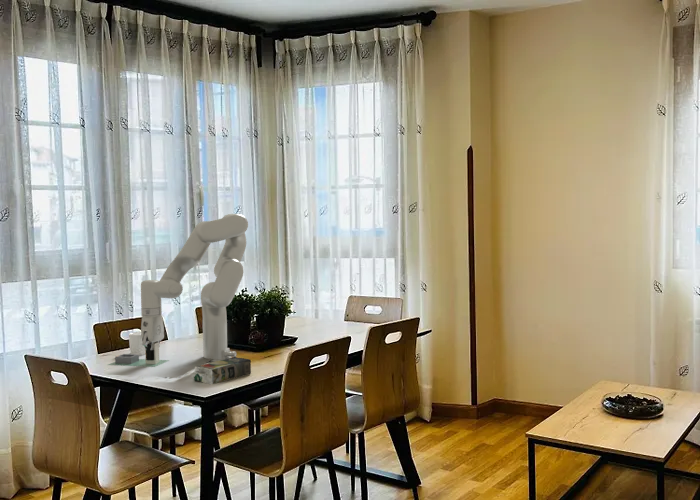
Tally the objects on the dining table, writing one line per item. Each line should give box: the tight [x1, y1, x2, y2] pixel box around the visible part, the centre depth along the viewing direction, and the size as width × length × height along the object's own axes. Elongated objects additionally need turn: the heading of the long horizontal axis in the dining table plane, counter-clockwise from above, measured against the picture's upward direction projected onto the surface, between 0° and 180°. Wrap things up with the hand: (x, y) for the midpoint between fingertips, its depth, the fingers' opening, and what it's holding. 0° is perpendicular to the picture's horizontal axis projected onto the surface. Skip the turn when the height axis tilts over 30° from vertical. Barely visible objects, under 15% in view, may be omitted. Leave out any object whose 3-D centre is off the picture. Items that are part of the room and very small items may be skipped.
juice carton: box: [193, 356, 252, 385], centre depth 253 cm, size 20×10×6 cm, turn 143°
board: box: [107, 353, 170, 368], centre depth 273 cm, size 20×12×4 cm, turn 77°
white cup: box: [128, 331, 146, 356], centre depth 290 cm, size 8×8×10 cm
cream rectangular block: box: [145, 342, 160, 364], centre depth 271 cm, size 4×3×8 cm
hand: (152, 358), depth 272 cm, fingers closed on cream rectangular block, 3 cm apart
